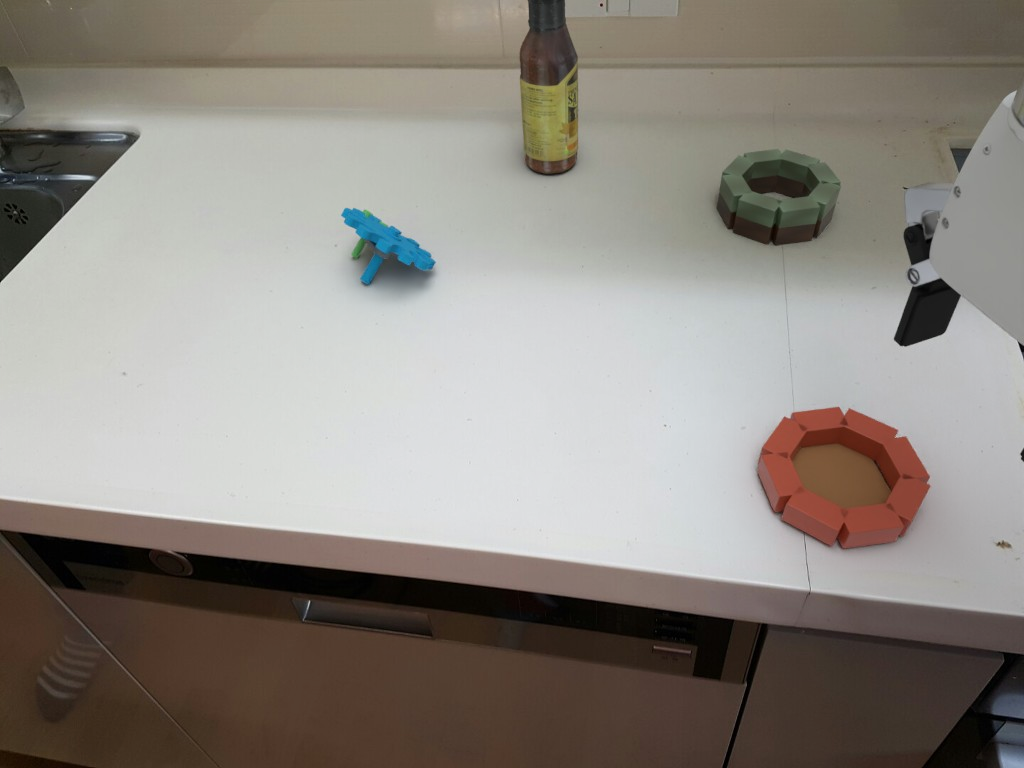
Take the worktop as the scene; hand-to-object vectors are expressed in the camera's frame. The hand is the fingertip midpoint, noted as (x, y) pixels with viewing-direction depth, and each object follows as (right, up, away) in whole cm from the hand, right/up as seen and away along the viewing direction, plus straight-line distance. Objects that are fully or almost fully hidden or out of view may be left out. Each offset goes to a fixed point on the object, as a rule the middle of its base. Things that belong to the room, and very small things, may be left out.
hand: (978, 392), depth 43 cm
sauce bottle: (-21, +26, +48) cm, 59 cm away
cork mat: (-2, -7, +15) cm, 17 cm away
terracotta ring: (-2, -7, +15) cm, 16 cm away
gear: (-38, +12, +36) cm, 54 cm away
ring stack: (+2, +18, +39) cm, 43 cm away
